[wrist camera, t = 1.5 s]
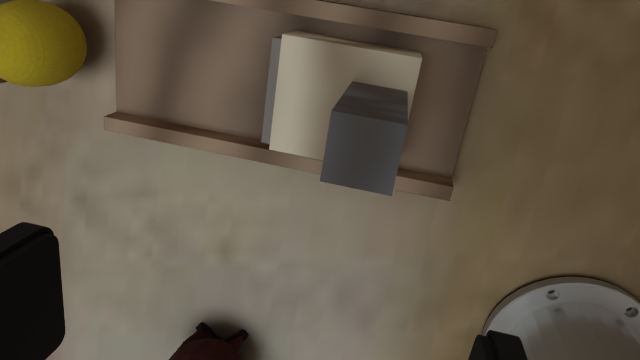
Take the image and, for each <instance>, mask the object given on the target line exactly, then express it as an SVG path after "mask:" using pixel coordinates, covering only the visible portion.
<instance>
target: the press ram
mask: <svg viewBox="0 0 640 360" xmlns="http://www.w3.org/2000/svg"><path fill="white" fill-rule="evenodd" d="M421 62H422V56H421V52H420V51H414V50H408V49H402V48H397V47H391V46H385V45H379V44H373V43H368V42H362V41H356V40H350V39H344V38H339V37H333V36H327V35H321V34H315V33H310V32H304V31H298V30H297V31H293V32H289V33H285V34H282V35H280V36H276V37H272V46H271V55H270V65H269V74H268V84H267V93H266V102H265V112H264V121H263V131H262V140H261V142H262V143H267V144H270V146H269V150H274V151H278V152H283V153H288V154H293V155H298V156H303V157H308V158H313V159H318V160H323V165H322V171H321V177H320V181H322V182H327V183H331V184H336V185H341V186H346V187H351V188H356V189H360V190H365V191H370V192H375V193H380V194H385V195H389V196H392V193H393V188H394V184H395V180H396V175H397V171H398V167H399V162H400V158H401V153H402V149H403V145H404V140H405V136H406V132H407V127H408V119H409V115H410V110H411V106H412V102H413V97H414V93H415V88H416V84H417V80H418V75H419V71H420V66H421Z"/></svg>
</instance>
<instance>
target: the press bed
mask: <svg viewBox="0 0 640 360" xmlns="http://www.w3.org/2000/svg"><path fill="white" fill-rule="evenodd" d="M297 30H298V31H304V32H310V33H315V34H321V35H327V36H333V37H339V38H344V39H350V40H356V41H362V42H368V43H373V44H379V45H385V46H391V47H397V48H402V49H408V50H414V51H420V52H421V56H422V62H421V66H420V71H419V75H418V80H417V84H416V88H415V93H414V97H413V102H412V106H411V110H410V115H409V119H408V127H407V132H406V136H405V140H404V145H403V149H402V153H401V158H400V162H399V167H398V171H397V175H396V180H395V184H394V188H393V189H394V190H399V191H404V192H409V193H414V194H419V195H423V196H428V197H433V198H438V199H443V200H448V201H450V197H451V194H452V190H453V184H452V180H451V178H452V174H453V171H454V167H455V163H456V160H457V156H458V153H459V149H460V145H461V142H462V138H463V135H464V131H465V128H466V124H467V120H468V117H469V113H470V110H471V106H472V102H473V99H474V95H475V92H476V88H477V84H478V81H479V77H480V74H481V70H482V67H483V63H484V59H485V56H486V52H487V49H488V47H490V48H493V45H494V42H495V38H496V35H497V31H498V30H495V29H491V28H486V27H480V26H474V25H468V24H462V23H456V22H450V21H443V20H437V19H431V18H425V17H419V16H413V15H407V14H401V13H395V12H389V11H383V10H377V9H370V8H364V7H358V6H352V5H346V4H340V3H334V2H328V1H322V0H115V51H116V106H117V112H115V113H112V114H109V115H107V116H104V130H107V131H112V132H117V133H122V134H126V135H131V136H136V137H141V138H146V139H151V140H156V141H161V142H165V143H170V144H175V145H180V146H185V147H190V148H195V149H199V150H204V151H209V152H214V153H219V154H224V155H229V156H234V157H238V158H243V159H248V160H253V161H258V162H263V163H268V164H273V165H277V166H282V167H287V168H292V169H297V170H302V171H307V172H311V173H316V174H321V171H322V165H323V160H318V159H313V158H308V157H303V156H298V155H293V154H288V153H283V152H278V151H274V150H269V146H270V144H267V143H262V142H261V140H262V131H263V121H264V112H265V102H266V93H267V84H268V74H269V65H270V55H271V46H272V37H276V36H280V35H282V34H285V33H289V32H293V31H297Z"/></svg>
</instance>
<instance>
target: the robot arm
mask: <svg viewBox="0 0 640 360" xmlns="http://www.w3.org/2000/svg"><path fill="white" fill-rule="evenodd" d="M64 335H65V320H64V307H63V294H62V281H61V268H60V255H59V242H58V239H57V237H56V236H54V234H53V232H52V230H51V229H50V228H48V227H44V226H40V225H35V224H31V223H27V222H22V223H19V224H17V225H15V226H13V227H11V228H10V229H8V230H6V231H4V232H2V233H0V360H45V359H46V358H47V357H48V356H49V355H50V354H52V353H53V352H54V351H55V350H56V349H57V348H58V346H59V345H60V344H61V342H62V340H63V338H64ZM468 360H640V302H638V301H637V300H636V299H635V298H634V297H633V296H632V295H630V294H629V293H627V292H626V291H624V290H622V289H621V288H619V287H617V286H614V285H612V284H609V283H607V282H604V281H600V280H595V279H591V278H584V277H560V278H551V279H547V280H543V281H539V282H535V283H532V284H530V285H528V286H525V287H523V288H521V289H519V290H517V291H516V292H514V293H512V294H511V295H509V296H508V297H506V298H505V299H504V300H503V301H502V302H501V303H500V304H499V305H498V306H497V307H496V308H495V309H494V310H493V312H492V313H491V315H490V316H489V317H488V319H487V321H486V324H485V326H484V328H483V331H482V335H477V337H476V339H475V341H474V344H473V347H472V350H471V353H470V356H469V359H468Z"/></svg>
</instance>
